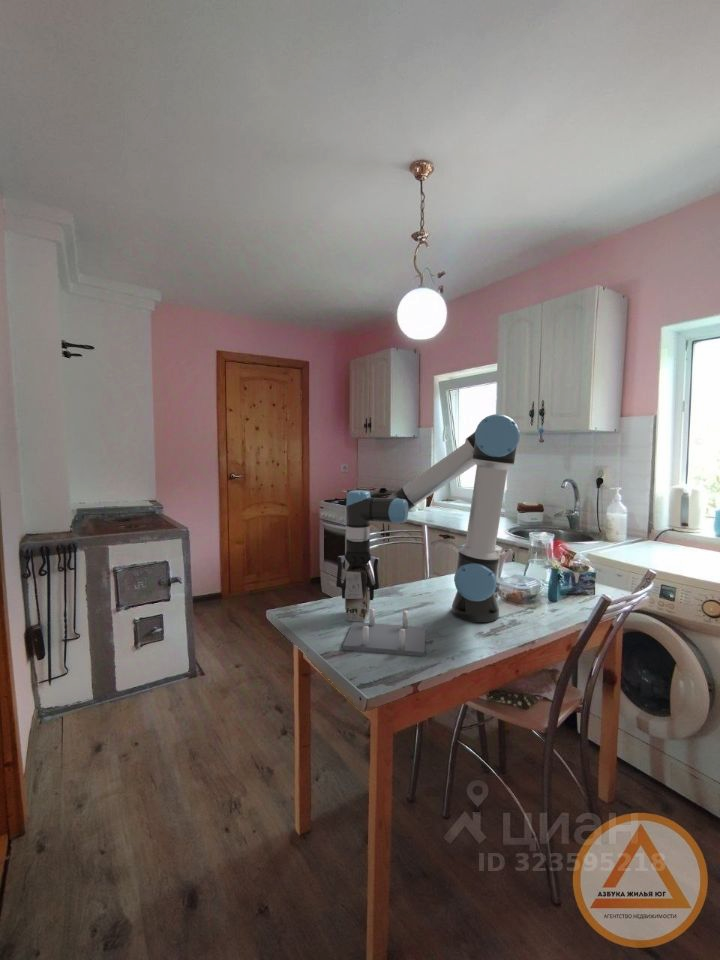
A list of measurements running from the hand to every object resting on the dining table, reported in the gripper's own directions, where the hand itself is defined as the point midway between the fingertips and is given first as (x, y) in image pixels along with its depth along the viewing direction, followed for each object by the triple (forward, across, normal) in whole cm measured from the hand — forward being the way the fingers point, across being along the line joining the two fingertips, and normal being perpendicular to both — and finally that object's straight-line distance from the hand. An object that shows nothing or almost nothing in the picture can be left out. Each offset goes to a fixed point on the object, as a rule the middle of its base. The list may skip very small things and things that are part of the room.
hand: (357, 608), depth 144 cm
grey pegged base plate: (+3, -11, +16) cm, 19 cm away
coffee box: (+3, 0, 0) cm, 3 cm away
